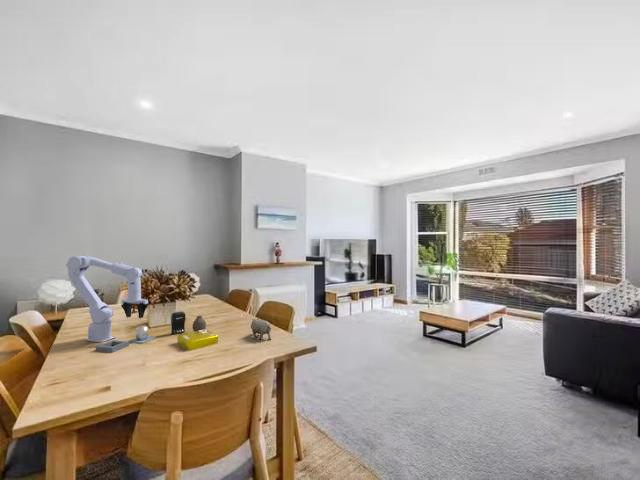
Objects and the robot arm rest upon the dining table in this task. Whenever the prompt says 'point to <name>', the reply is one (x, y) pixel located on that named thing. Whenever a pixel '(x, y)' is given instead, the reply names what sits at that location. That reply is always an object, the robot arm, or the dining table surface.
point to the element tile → (197, 339)
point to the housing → (116, 345)
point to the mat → (142, 341)
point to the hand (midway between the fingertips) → (134, 317)
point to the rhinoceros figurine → (260, 328)
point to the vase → (199, 324)
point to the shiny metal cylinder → (141, 333)
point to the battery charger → (178, 322)
